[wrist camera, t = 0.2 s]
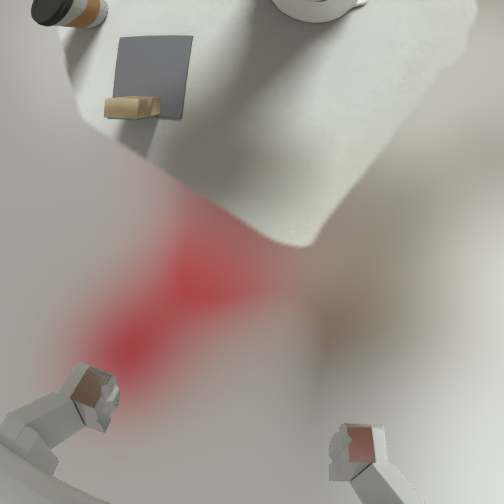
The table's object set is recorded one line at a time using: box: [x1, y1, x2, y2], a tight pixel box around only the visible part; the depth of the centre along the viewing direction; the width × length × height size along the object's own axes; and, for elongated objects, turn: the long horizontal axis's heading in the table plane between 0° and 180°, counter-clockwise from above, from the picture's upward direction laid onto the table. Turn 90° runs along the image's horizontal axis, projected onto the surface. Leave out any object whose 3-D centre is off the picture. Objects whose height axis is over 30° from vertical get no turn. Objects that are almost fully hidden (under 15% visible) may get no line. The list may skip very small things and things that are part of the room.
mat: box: [113, 36, 193, 118], centre depth 47 cm, size 15×14×1 cm
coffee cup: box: [31, 0, 108, 28], centre depth 34 cm, size 8×8×15 cm
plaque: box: [104, 96, 162, 120], centre depth 45 cm, size 3×6×9 cm, turn 81°
